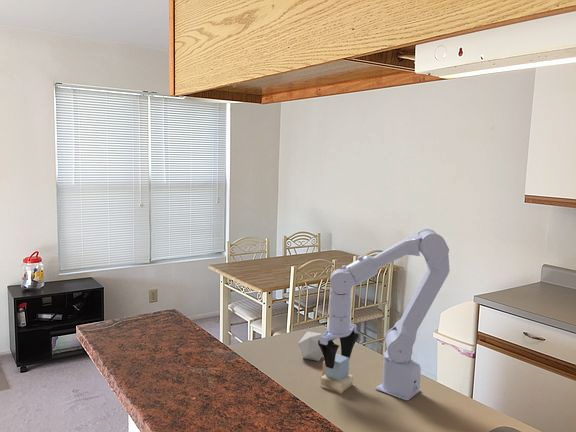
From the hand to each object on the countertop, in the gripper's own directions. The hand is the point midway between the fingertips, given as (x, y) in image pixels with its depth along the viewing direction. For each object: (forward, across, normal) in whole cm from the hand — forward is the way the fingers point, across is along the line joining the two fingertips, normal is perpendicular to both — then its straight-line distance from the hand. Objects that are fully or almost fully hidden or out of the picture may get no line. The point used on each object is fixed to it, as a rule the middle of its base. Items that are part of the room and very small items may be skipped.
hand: (337, 363), depth 131 cm
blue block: (+4, 0, 0) cm, 4 cm away
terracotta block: (+6, -5, -5) cm, 10 cm away
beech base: (+7, 0, 0) cm, 7 cm away
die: (+6, -10, -16) cm, 20 cm away
